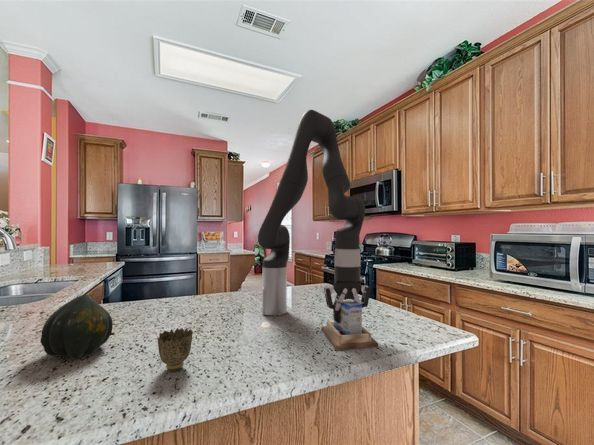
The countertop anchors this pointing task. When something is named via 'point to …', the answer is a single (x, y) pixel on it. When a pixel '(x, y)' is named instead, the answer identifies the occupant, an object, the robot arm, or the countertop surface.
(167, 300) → the countertop surface
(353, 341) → the holder
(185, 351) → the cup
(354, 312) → the medicine box
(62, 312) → the squash
